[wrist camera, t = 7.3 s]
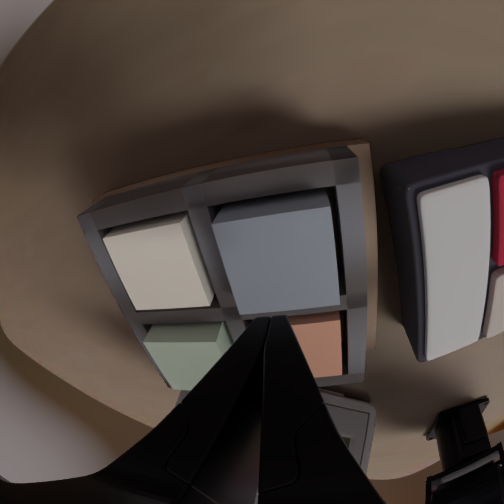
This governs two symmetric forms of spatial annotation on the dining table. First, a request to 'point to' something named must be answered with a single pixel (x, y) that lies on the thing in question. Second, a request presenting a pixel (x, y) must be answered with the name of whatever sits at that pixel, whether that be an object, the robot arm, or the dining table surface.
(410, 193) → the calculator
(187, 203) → the keypad
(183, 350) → the key sage
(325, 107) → the dining table surface
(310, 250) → the key slate
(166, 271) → the key cream
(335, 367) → the key terracotta
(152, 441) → the robot arm
